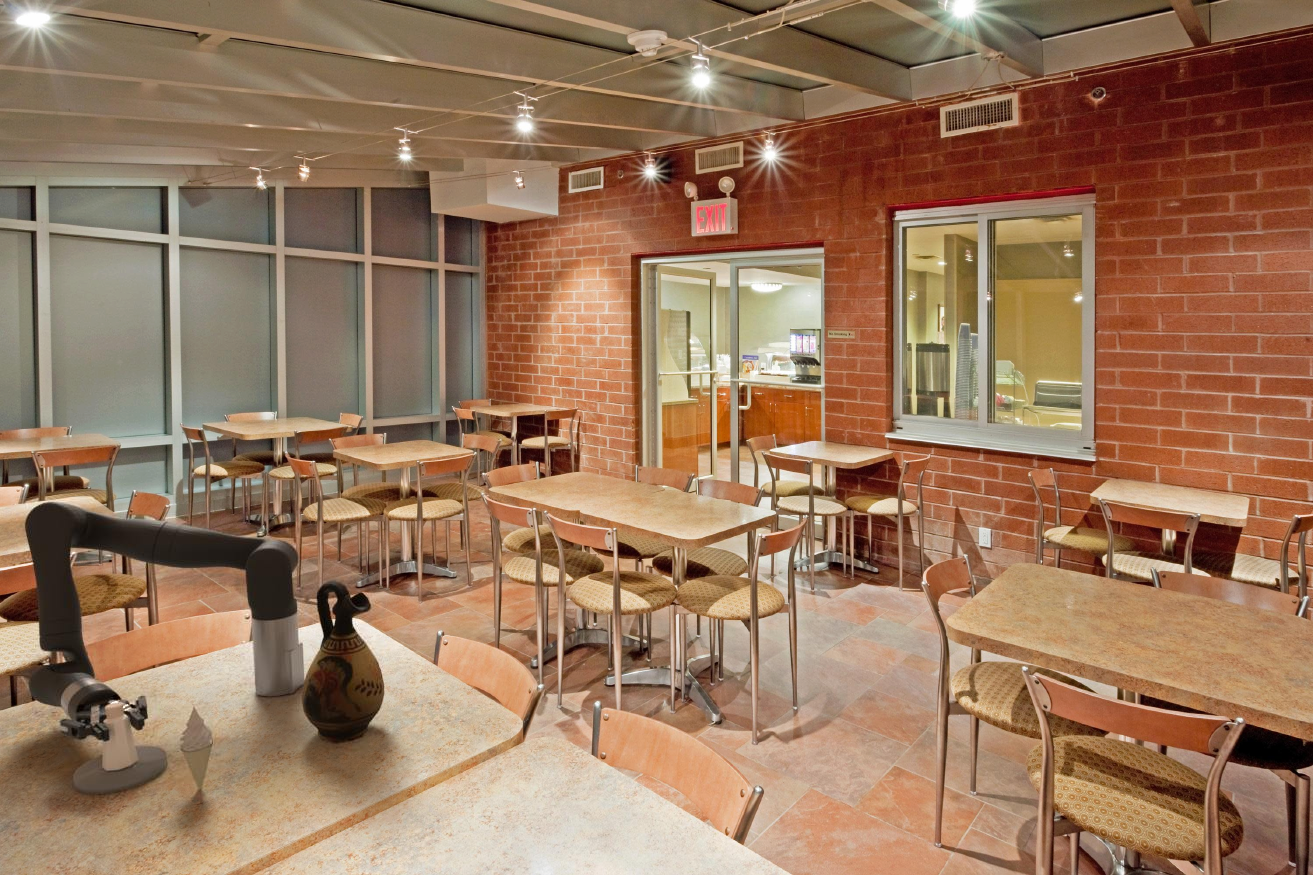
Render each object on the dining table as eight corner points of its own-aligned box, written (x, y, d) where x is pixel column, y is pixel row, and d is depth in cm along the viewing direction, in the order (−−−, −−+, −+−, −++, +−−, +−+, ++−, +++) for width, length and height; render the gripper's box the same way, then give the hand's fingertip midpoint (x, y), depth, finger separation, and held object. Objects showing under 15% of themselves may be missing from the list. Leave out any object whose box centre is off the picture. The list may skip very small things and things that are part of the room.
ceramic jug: (402, 721, 164) (398, 579, 161) (344, 756, 150) (337, 601, 147) (341, 705, 171) (335, 569, 168) (279, 737, 157) (272, 589, 154)
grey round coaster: (183, 753, 151) (183, 745, 151) (135, 794, 137) (134, 786, 137) (109, 752, 151) (109, 745, 151) (53, 793, 137) (53, 785, 137)
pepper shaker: (145, 758, 146) (139, 699, 145) (117, 772, 141) (110, 711, 140) (123, 755, 148) (117, 697, 147) (94, 769, 142) (88, 709, 142)
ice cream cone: (191, 781, 141) (186, 700, 140) (221, 780, 142) (216, 699, 140) (177, 797, 136) (171, 713, 135) (208, 796, 137) (203, 712, 135)
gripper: (43, 696, 146) (74, 724, 136) (131, 671, 157) (167, 696, 147) (46, 735, 147) (77, 766, 136) (134, 708, 158) (169, 735, 148)
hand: (123, 729), depth 142 cm, fingers open, 4 cm apart
